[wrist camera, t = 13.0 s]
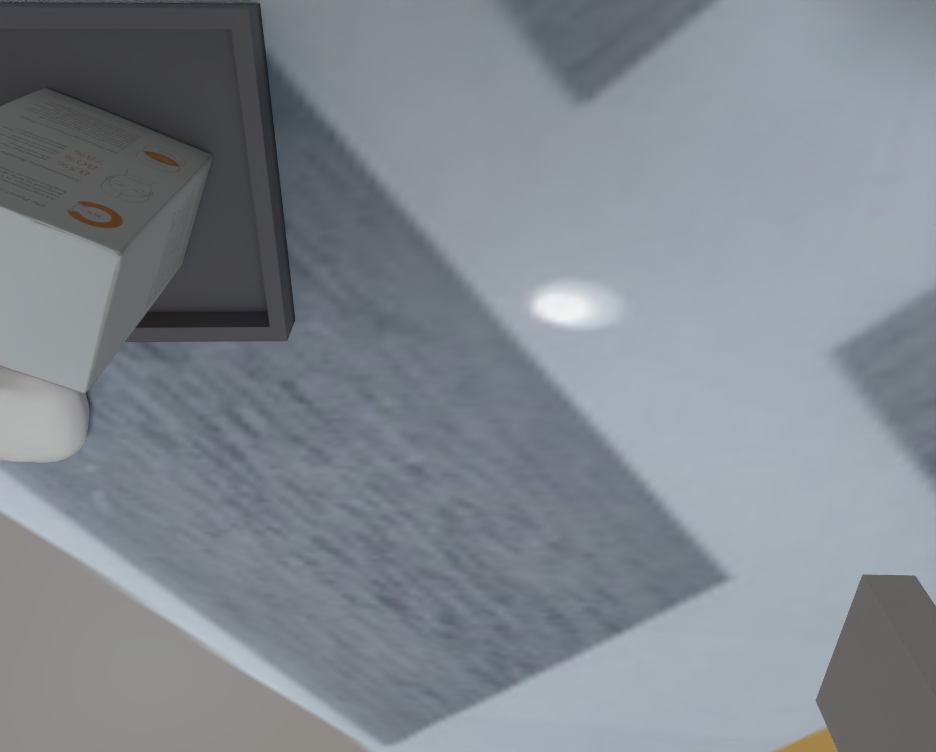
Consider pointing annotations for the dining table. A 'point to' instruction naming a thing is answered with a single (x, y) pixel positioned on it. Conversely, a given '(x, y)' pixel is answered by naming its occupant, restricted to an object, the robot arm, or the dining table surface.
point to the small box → (85, 232)
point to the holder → (189, 121)
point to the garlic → (40, 419)
